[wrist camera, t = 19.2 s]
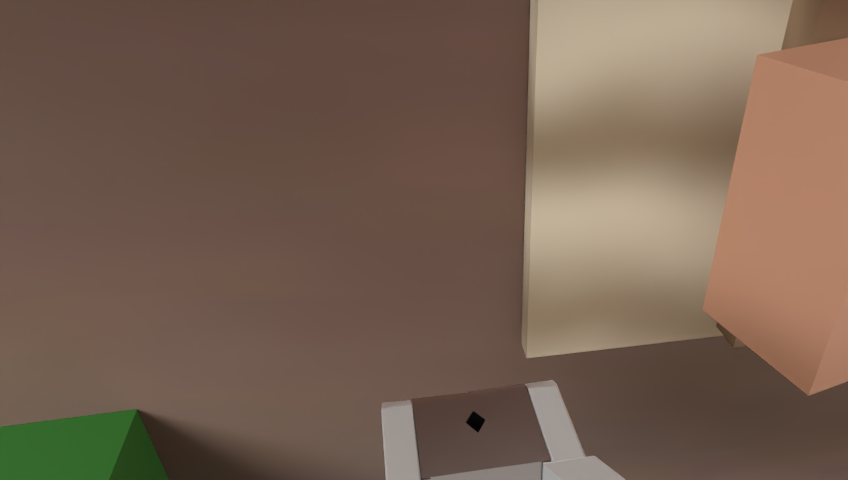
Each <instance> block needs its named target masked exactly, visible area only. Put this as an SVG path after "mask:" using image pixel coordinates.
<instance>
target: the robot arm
mask: <svg viewBox="0 0 848 480" xmlns="http://www.w3.org/2000/svg"><path fill="white" fill-rule="evenodd" d="M412 406H413V410H412ZM381 413H382V428H383V444H384V459H385V475H386V480H626V479H625V478H623V477H622V476H621V475H619V474H618V473H617V472H615V471H614V470H613V469H611V468H610V467H609V466H608V465H606V464H605V463H604V462H602V461H601V460H600V459H598V458H597V457H596V456H587V457H586V456H585V453H584V451H583V448H582V446H581V443H580V441H579V438H578V436H577V433H576V431H575V428H574V426H573V423H572V421H571V418H570V416H569V413H568V411H567V408H566V406H565V403H564V401H563V398H562V396H561V393H560V391H559V388H558V386H557V384H556V383H555V382H554V381H553V380H548V381H541V382H534V383H527V384H524V385H523V384H518V385H512V386H505V387H498V388H491V389H485V390H478V391H471V392H468V393H460V394H451V395H442V396H433V397H424V398H415V399H412V403H411V399H410V400H401V401H393V402H384V403H382V409H381ZM413 415H414V417H413ZM414 423H415V425H414ZM415 431H416V432H415Z"/></svg>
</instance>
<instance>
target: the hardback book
mask: <svg viewBox="0 0 848 480" xmlns="http://www.w3.org/2000/svg"><path fill="white" fill-rule="evenodd" d="M0 480H169V478H168V476H167V474H166V472H165V470H164V468H163V465H162V463H161V461H160V459H159V457H158V454H157V452H156V450H155V448H154V446H153V443H152V441H151V439H150V437H149V435H148V432H147V430H146V428H145V426H144V424H143V422H142V419H141V417H140V415H139V413H138V411H137V409H135V410H127V411H119V412H112V413H104V414H96V415H89V416H81V417H73V418H66V419H58V420H50V421H42V422H35V423H27V424H19V425H12V426H4V427H0Z"/></svg>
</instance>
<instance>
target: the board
mask: <svg viewBox="0 0 848 480" xmlns="http://www.w3.org/2000/svg"><path fill="white" fill-rule="evenodd" d="M844 38H848V0H530V39H529V77H528V115H527V153H526V191H525V229H524V267H523V306H522V347H523V349H524V352H525V355H526V358H533V357H542V356H551V355H560V354H568V353H577V352H586V351H594V350H603V349H612V348H620V347H629V346H638V345H646V344H655V343H664V342H673V341H681V340H690V339H699V338H707V337H716V336H724V337H725V338H726V339H727V341H728V342H729V343H730V344H731V346H732V347H733V348H738V347H746V345H745V344H744V343H743V342H741V341H740V340H739V339H738V338H737V337H735V336H734V335H733V334H732V333H730V332H729V331H728V330H727V329H725V328H724V327H723V326H722V325H721V324H719V323H718V322H717V321H716V320H714V319H713V318H712V317H711V316H709V315H708V314H707V313H706V312H704V311H703V310H702V309H703V305H704V300H705V295H706V291H707V286H708V281H709V277H710V272H711V267H712V263H713V258H714V253H715V249H716V244H717V239H718V235H719V230H720V225H721V221H722V216H723V211H724V207H725V202H726V197H727V193H728V188H729V183H730V179H731V174H732V169H733V165H734V160H735V155H736V151H737V146H738V141H739V137H740V132H741V128H742V123H743V118H744V114H745V109H746V104H747V100H748V95H749V90H750V86H751V81H752V76H753V72H754V67H755V62H756V58H757V55H758V54H763V53H769V52H774V51H779V50H785V49H790V48H795V47H801V46H806V45H812V44H817V43H822V42H828V41H833V40H838V39H844Z"/></svg>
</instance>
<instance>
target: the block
mask: <svg viewBox="0 0 848 480" xmlns="http://www.w3.org/2000/svg"><path fill="white" fill-rule="evenodd" d="M702 310H703V311H704V312H706V313H707V314H708V315H709V316H711V317H712V318H713V319H714V320H716V321H717V322H718V323H719V324H721V325H722V326H723V327H724V328H725V329H727V330H728V331H729V332H730V333H732V334H733V335H734V336H735V337H737V338H738V339H739V340H740V341H741V342H743V343H744V344H745V345H746V346H748V347H749V348H750V349H751V350H753V351H754V352H755V353H756V354H758V355H759V356H760V357H761V358H762V359H764V360H765V361H766V362H767V363H769V364H770V365H771V366H772V367H774V368H775V369H776V370H777V371H778V372H780V373H781V374H782V375H783V376H785V377H786V378H787V379H788V380H790V381H791V382H792V383H793V384H795V385H796V386H797V387H798V388H799V389H801V390H802V391H803V392H804V393H806V394H807V395H808V396H809V395H812V394H815V393H818V392H820V391H823V390H826V389H828V388H831V387H834V386H837V385H839V384H842V383H845V382H847V381H848V38H844V39H838V40H833V41H828V42H822V43H817V44H812V45H806V46H801V47H795V48H790V49H785V50H779V51H774V52H769V53H763V54H758V55H757V58H756V62H755V67H754V72H753V76H752V81H751V86H750V90H749V95H748V100H747V104H746V109H745V114H744V118H743V123H742V128H741V132H740V137H739V141H738V146H737V151H736V155H735V160H734V165H733V169H732V174H731V179H730V183H729V188H728V193H727V197H726V202H725V207H724V211H723V216H722V221H721V225H720V230H719V235H718V239H717V244H716V249H715V253H714V258H713V263H712V267H711V272H710V277H709V281H708V286H707V291H706V295H705V300H704V305H703V309H702Z"/></svg>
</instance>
